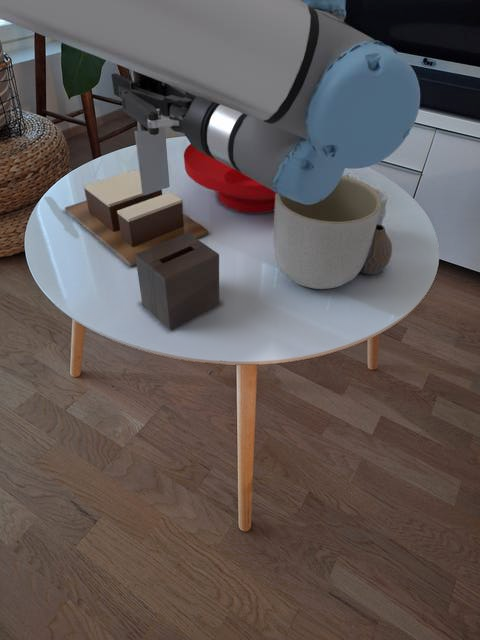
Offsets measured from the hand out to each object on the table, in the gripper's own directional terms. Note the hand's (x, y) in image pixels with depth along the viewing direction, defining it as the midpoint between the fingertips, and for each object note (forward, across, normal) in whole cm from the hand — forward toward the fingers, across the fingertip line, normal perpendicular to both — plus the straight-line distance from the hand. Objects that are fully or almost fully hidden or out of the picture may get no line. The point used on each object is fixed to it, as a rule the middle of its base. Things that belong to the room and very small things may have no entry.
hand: (125, 82), depth 68 cm
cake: (+14, +4, -29) cm, 33 cm away
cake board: (+11, +4, -30) cm, 32 cm away
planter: (-24, +21, -30) cm, 44 cm away
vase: (-30, +29, -30) cm, 51 cm away
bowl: (+5, +31, -30) cm, 44 cm away
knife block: (-16, -4, -30) cm, 34 cm away
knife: (-5, 0, -15) cm, 16 cm away
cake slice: (+4, +4, -29) cm, 30 cm away
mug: (-20, +36, -30) cm, 51 cm away
